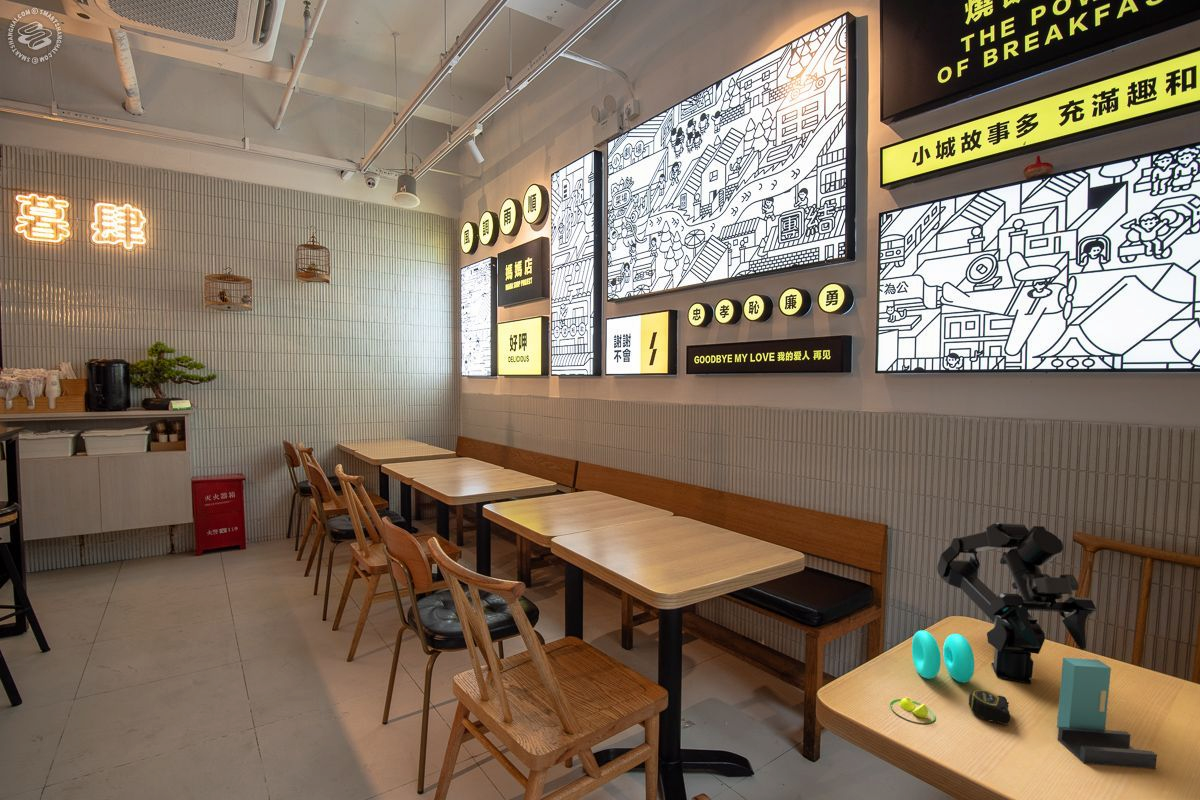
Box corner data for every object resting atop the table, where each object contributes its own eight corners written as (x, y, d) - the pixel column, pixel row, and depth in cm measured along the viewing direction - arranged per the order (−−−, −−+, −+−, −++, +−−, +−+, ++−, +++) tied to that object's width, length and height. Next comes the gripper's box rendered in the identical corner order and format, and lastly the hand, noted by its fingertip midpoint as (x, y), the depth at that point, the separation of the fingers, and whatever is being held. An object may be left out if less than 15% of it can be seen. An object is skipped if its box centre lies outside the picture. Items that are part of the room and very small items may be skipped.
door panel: (1056, 726, 113) (1063, 657, 112) (1091, 729, 113) (1098, 659, 112) (1069, 737, 110) (1075, 666, 109) (1105, 740, 109) (1112, 668, 108)
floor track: (1057, 739, 109) (1058, 726, 109) (1124, 744, 108) (1126, 731, 108) (1083, 763, 103) (1085, 749, 102) (1155, 768, 102) (1157, 754, 102)
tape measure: (1009, 731, 111) (1011, 712, 111) (967, 718, 115) (969, 699, 115) (1008, 713, 117) (1009, 696, 117) (968, 701, 121) (969, 684, 121)
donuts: (975, 692, 124) (978, 647, 124) (925, 686, 126) (928, 642, 125) (954, 668, 134) (957, 626, 134) (908, 663, 136) (911, 622, 135)
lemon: (940, 714, 116) (941, 701, 116) (927, 731, 111) (928, 717, 111) (897, 697, 122) (898, 684, 122) (883, 712, 117) (884, 699, 116)
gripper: (1002, 556, 122) (1034, 631, 112) (1094, 560, 121) (1135, 636, 111) (977, 578, 131) (1005, 650, 120) (1063, 583, 130) (1098, 655, 119)
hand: (1060, 647), depth 118 cm, fingers open, 9 cm apart
